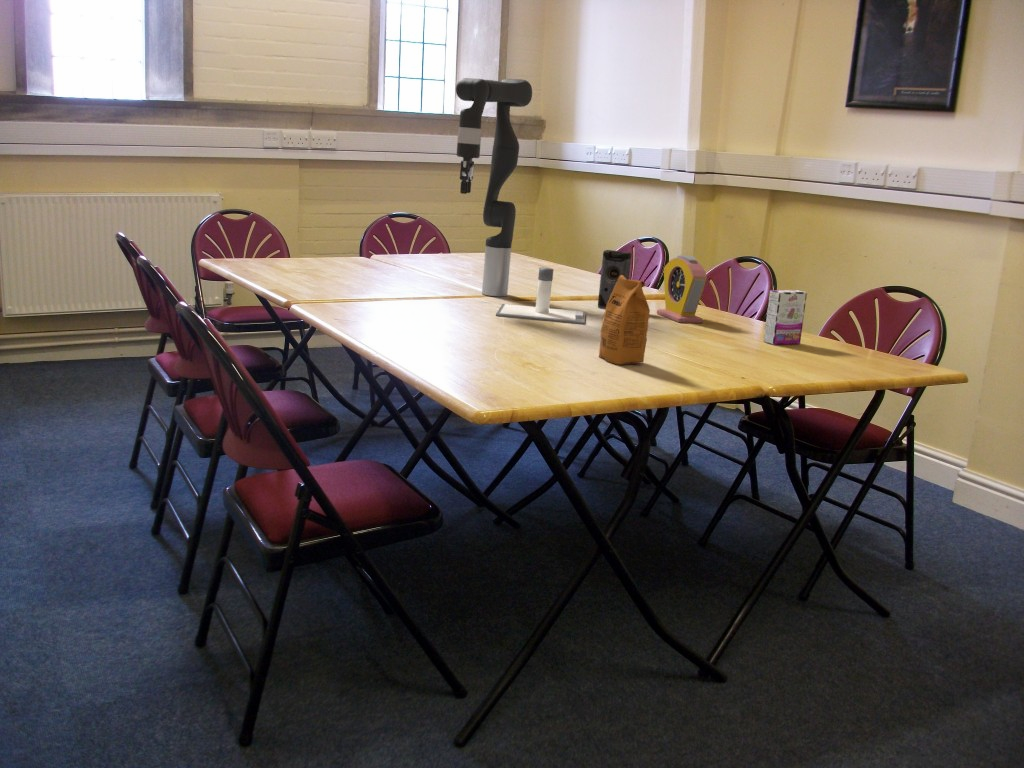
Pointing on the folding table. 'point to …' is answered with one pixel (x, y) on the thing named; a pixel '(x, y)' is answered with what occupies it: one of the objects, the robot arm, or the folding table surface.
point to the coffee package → (625, 323)
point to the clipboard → (541, 314)
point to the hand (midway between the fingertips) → (465, 193)
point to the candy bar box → (785, 317)
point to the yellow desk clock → (683, 289)
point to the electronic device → (612, 273)
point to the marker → (544, 290)
